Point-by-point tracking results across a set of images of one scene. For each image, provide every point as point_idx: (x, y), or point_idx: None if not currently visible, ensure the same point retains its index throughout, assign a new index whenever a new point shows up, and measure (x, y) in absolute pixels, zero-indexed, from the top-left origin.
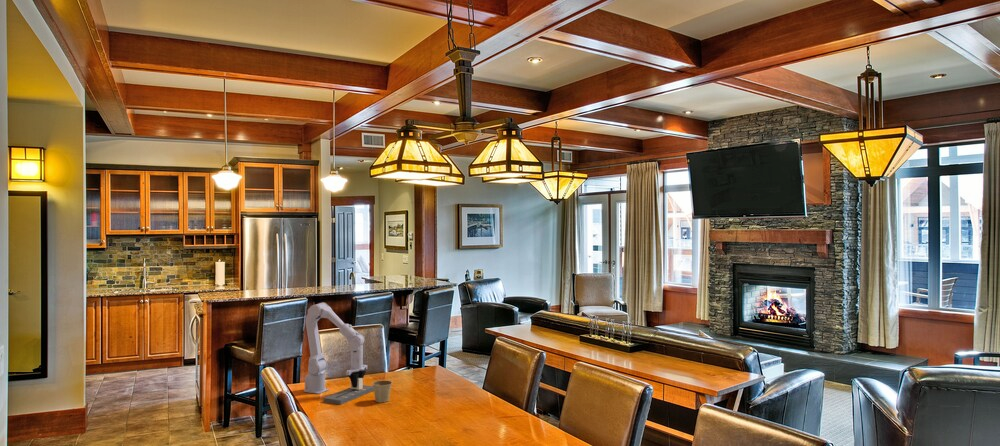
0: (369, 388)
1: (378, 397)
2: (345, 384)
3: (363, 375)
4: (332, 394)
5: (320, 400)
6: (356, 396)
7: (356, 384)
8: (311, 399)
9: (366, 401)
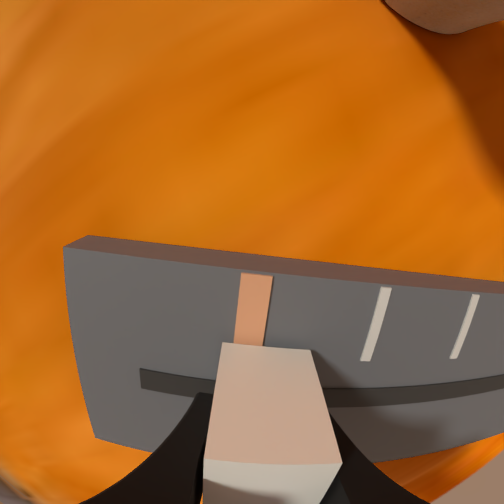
0: (163, 260)
1: None
2: (96, 488)
3: (141, 494)
4: (451, 447)
5: (463, 447)
6: (431, 279)
7: None
8: (439, 483)
9: (484, 118)
